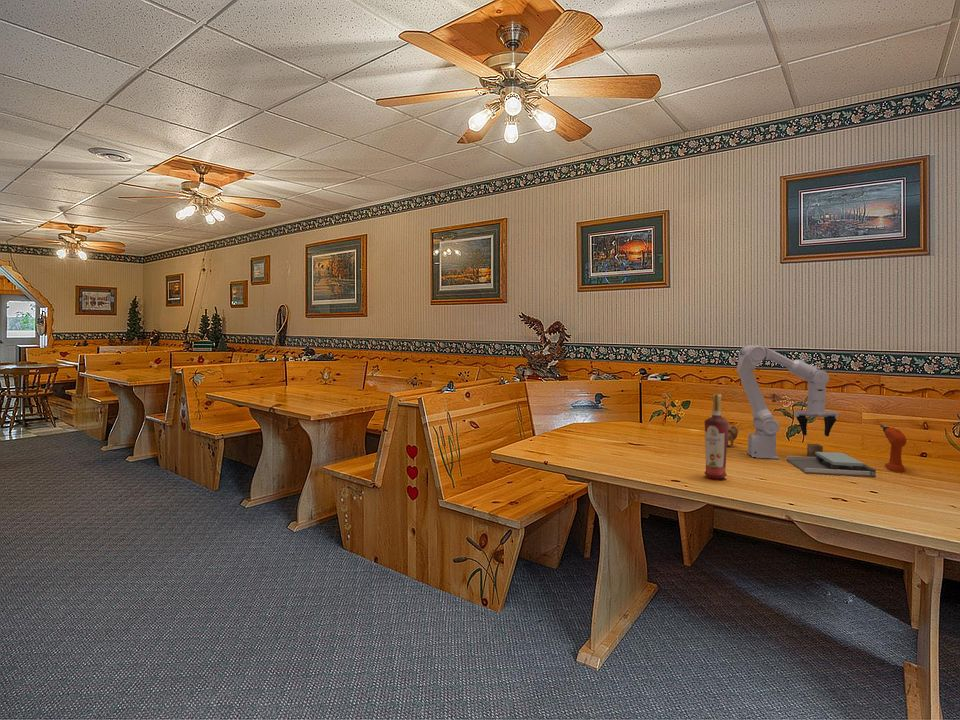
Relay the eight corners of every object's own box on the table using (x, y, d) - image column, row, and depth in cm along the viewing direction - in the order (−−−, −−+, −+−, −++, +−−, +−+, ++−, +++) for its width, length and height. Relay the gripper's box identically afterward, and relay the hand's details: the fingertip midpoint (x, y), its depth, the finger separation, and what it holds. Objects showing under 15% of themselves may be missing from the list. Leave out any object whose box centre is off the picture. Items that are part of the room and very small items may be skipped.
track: (805, 473, 180) (805, 466, 180) (786, 460, 198) (786, 454, 198) (875, 477, 175) (875, 469, 175) (849, 463, 193) (850, 456, 193)
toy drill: (886, 456, 198) (889, 418, 195) (907, 475, 181) (911, 433, 178) (870, 455, 200) (874, 417, 197) (890, 474, 182) (894, 432, 180)
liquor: (730, 477, 175) (732, 394, 173) (722, 482, 170) (724, 396, 168) (708, 473, 180) (710, 392, 179) (699, 477, 175) (701, 394, 173)
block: (810, 458, 201) (811, 445, 201) (807, 456, 205) (807, 443, 205) (822, 459, 200) (822, 446, 200) (818, 457, 204) (818, 444, 204)
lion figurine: (731, 444, 227) (731, 424, 226) (741, 447, 222) (741, 426, 221) (704, 447, 221) (705, 426, 221) (714, 450, 216) (715, 428, 216)
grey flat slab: (833, 471, 179) (833, 461, 179) (814, 460, 195) (815, 451, 194) (863, 473, 177) (863, 463, 177) (842, 461, 192) (842, 452, 192)
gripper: (799, 401, 199) (798, 436, 200) (842, 402, 196) (841, 438, 197) (792, 399, 206) (791, 433, 207) (834, 399, 203) (833, 434, 203)
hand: (815, 435), depth 202 cm, fingers open, 7 cm apart
